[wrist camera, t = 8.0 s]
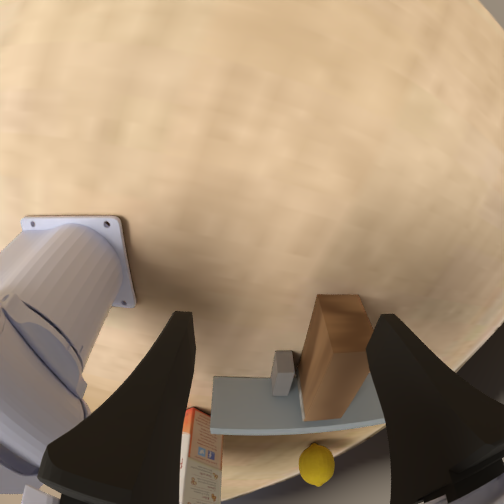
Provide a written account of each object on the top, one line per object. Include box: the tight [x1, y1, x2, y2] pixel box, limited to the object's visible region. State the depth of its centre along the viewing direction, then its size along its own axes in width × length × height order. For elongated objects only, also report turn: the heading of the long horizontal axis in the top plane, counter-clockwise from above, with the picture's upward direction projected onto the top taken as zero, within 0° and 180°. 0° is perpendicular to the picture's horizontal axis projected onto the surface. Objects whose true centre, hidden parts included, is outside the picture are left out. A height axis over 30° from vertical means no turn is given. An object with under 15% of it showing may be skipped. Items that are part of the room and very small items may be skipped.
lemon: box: [299, 443, 334, 486], centre depth 36 cm, size 6×6×8 cm
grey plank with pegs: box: [210, 351, 385, 435], centre depth 25 cm, size 20×6×6 cm, turn 87°
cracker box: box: [179, 407, 223, 504], centre depth 26 cm, size 14×6×21 cm, turn 130°
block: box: [296, 294, 374, 421], centre depth 23 cm, size 4×10×6 cm, turn 177°
